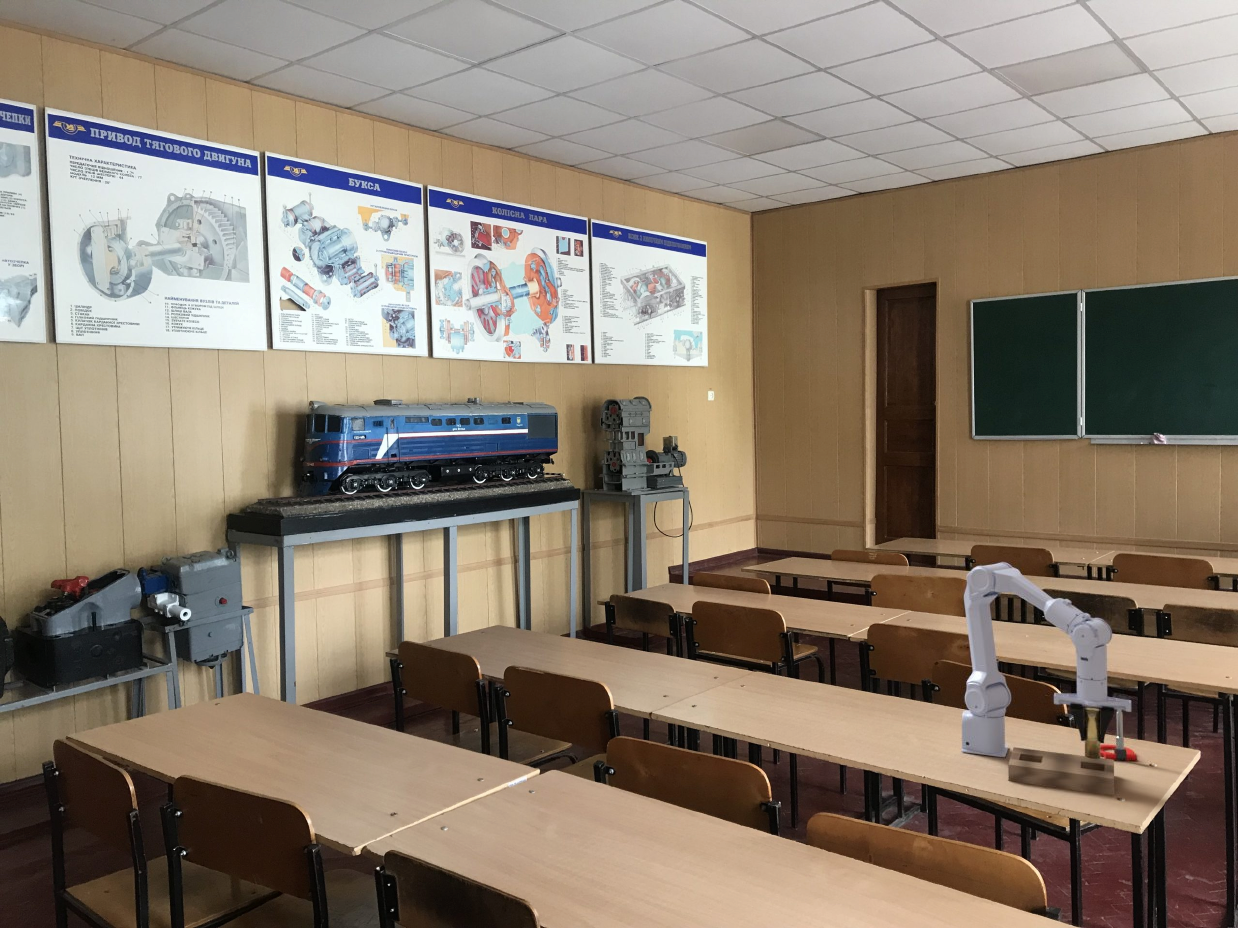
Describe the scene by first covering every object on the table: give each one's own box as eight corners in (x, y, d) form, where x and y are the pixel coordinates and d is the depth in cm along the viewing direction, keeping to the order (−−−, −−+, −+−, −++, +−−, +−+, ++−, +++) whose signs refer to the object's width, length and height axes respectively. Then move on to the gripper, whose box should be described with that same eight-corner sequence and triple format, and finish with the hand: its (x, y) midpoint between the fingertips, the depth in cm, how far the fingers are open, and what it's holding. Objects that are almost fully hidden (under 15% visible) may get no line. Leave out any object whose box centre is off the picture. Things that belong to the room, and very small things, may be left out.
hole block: (1008, 780, 200) (1008, 764, 200) (1013, 762, 211) (1013, 747, 211) (1114, 795, 191) (1113, 778, 191) (1114, 775, 201) (1113, 759, 201)
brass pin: (1084, 757, 197) (1084, 710, 197) (1084, 753, 200) (1084, 706, 200) (1100, 759, 196) (1100, 712, 196) (1100, 754, 199) (1099, 708, 198)
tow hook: (1087, 748, 220) (1101, 760, 211) (1086, 693, 220) (1100, 703, 211) (1125, 749, 219) (1141, 761, 209) (1124, 694, 219) (1140, 704, 210)
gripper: (1052, 678, 197) (1053, 741, 198) (1131, 685, 190) (1131, 751, 191) (1054, 670, 203) (1055, 731, 204) (1130, 676, 197) (1131, 740, 197)
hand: (1092, 740), depth 198 cm, fingers closed on brass pin, 3 cm apart
